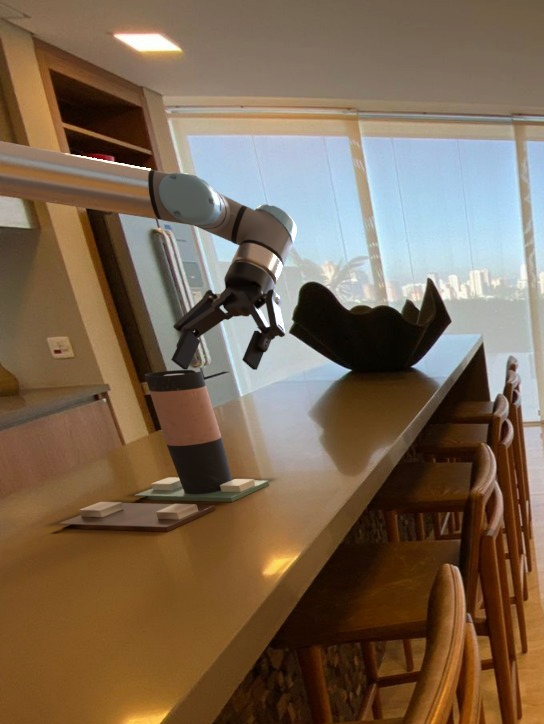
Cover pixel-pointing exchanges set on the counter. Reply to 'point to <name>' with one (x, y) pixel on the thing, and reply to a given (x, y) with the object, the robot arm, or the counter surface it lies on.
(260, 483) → the strip
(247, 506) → the counter surface
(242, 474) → the counter surface
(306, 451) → the counter surface
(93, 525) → the strip
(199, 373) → the travel mug
